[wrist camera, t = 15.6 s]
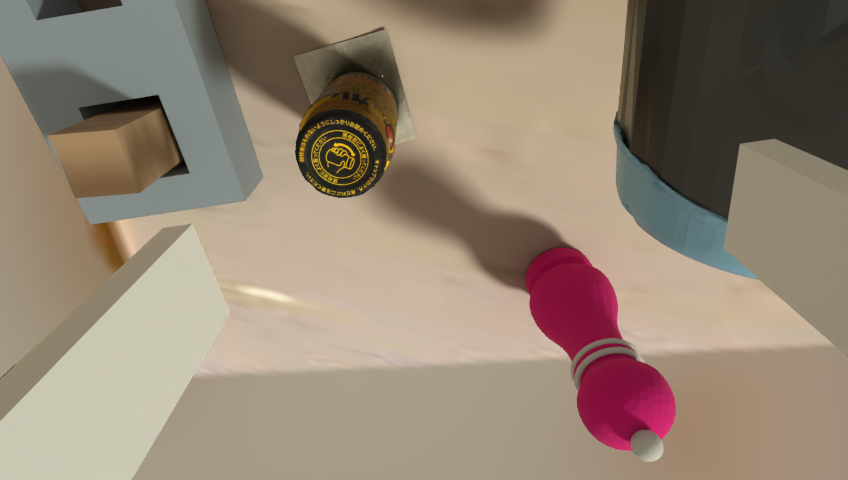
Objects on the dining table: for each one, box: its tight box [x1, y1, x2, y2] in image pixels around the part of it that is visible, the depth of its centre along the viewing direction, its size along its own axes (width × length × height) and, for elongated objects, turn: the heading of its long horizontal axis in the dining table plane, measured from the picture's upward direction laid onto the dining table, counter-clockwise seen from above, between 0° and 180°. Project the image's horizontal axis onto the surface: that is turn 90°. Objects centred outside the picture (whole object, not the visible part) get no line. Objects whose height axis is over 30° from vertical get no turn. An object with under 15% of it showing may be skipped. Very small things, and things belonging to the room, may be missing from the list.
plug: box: [48, 98, 184, 198], centre depth 33 cm, size 4×4×10 cm
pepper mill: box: [526, 248, 676, 462], centre depth 37 cm, size 7×7×20 cm
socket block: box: [0, 0, 263, 224], centre depth 33 cm, size 22×13×5 cm, turn 8°
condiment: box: [293, 29, 417, 198], centre depth 32 cm, size 7×8×12 cm
